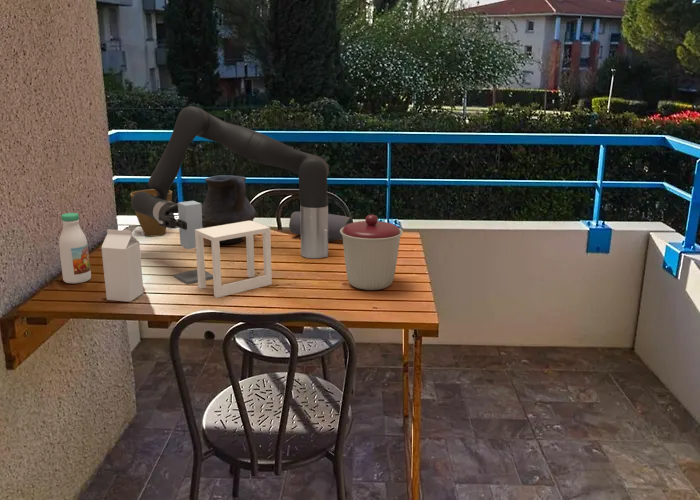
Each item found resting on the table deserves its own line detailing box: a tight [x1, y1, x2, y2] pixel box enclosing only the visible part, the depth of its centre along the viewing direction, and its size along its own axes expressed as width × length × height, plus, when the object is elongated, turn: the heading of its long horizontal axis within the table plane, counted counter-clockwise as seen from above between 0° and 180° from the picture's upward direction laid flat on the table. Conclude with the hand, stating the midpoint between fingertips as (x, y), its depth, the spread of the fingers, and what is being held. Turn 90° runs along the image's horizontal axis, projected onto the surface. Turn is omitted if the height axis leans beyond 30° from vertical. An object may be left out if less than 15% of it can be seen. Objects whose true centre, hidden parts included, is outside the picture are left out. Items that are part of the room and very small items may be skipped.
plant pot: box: [130, 189, 173, 237], centre depth 237 cm, size 15×15×16 cm
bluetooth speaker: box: [288, 211, 354, 242], centre depth 233 cm, size 23×9×10 cm, turn 67°
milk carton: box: [100, 229, 144, 302], centre depth 172 cm, size 7×7×19 cm
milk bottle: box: [58, 212, 92, 284], centre depth 185 cm, size 8×8×20 cm
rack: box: [195, 220, 273, 299], centre depth 182 cm, size 11×18×17 cm, turn 130°
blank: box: [177, 200, 203, 250], centre depth 186 cm, size 5×5×13 cm
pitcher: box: [201, 174, 257, 245], centre depth 227 cm, size 21×22×25 cm
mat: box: [173, 269, 213, 286], centre depth 191 cm, size 9×9×1 cm
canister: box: [340, 214, 404, 291], centre depth 183 cm, size 18×18×21 cm
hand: (194, 224), depth 184 cm, fingers closed on blank, 5 cm apart
